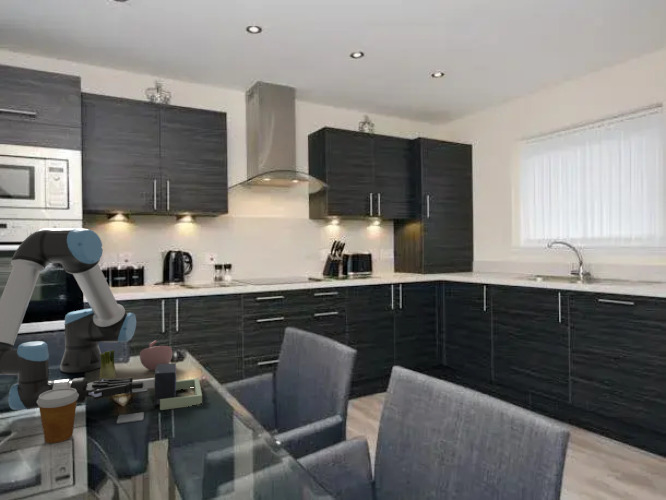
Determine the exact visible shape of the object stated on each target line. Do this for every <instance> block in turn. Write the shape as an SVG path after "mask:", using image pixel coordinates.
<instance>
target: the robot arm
mask: <svg viewBox="0 0 666 500" xmlns="http://www.w3.org/2000/svg"><path fill="white" fill-rule="evenodd" d="M102 247H103V243H102V240H101V238H100V237H99V235H98V233H96V232H95V231H94V230H91V229H89V228H88V229H87V228H80V227H77V228H50V227H49V228H42V229H39V230H36V231H34V232H32V233H31V234H30V235H29V236H27V237H25V239H24V240H23V241H22V242H21V243H20V245H19V246H18V247H17V248H16V250H15V251H14V254H13V256H12V258H11V261H10V265H11V267H12V269H11V272H10V274H9V277H8V279H7V282H6V284H5V286H4V290H3V292H2V294H1V297H0V375H4V376H5V375H6V376H7V375H9V376H17V378H18V380H17V381H18V382H17V383H15V384H13V385H11V387H10V389H9V392H8V407H10V409H11V410H14V411H17V410H32V409H39V406H38V404H37V400H38V398H39V395H40V394H42V393H44V392H46V391H49V390H53V389H58V388H74V389H76V390H77V393H78V394H79V397H78V399H77V403H76V405H77V404H83V403H86V401H87V398H93V400H100V399H103V398H107V397H113V396H119V395H126V394H125V393H129V391H130V394H133V393H132V390H137V389H146V388H147V389H155V377H150V378H140V379H133V377H121V378H120V377H119V378H115V379H104V378H101V379H100V378H99V380H94V381H92V382H88V379H87V378H86V377H77V378H76V377H75V378H73V379H71V378H63V379H55V380H50V379H49V377H50V376H49V375H50V374H49V371H50V370H49V368H50V367H49V365H50V364H49V363H50V362H49V360H50V359H49V358H50V354H49V349H48V344H47V342H45V341H41V340H40V341H39V340H35V341H28V342H22V343H20V344H19V345H18V346H17V348H14V344H15V342H16V340H17V336H18V334H19V331H20V328H21V326H22V323H23V320H24V317H25V315H26V311H27V309H28V306H29V303H30V302H31V298H32V295H33V294H34V290H35V287H36V284H37V281H38V279H39V276H40V274H42V273H43V272H45V269H46V267H47V265H48V264H50V263H51V264H52V263H54V264H55V263H56V264H57V263H58V264H61V266H62V268H63V269H64V271H65V272H66V273H68V274H71V275H72V276H73V277H74V279H75V281H76V282H77V285H78V287H79V289H80V290H81V291H82V294H83V295H84V298H85V300H86V301H87V303H88V304H89V305H88V306H89V307H90V308H84V309H80V310H79V309H78V310H76V311H75V310H73V311H70V312H67V314H65V317H64V323H63V324H64V344H65V345H64V346H65V348H64V353H63V356H62V359H61V361H60V366H59V367H60V371H61V372H63V373H67V374H68V373H69V374H71V373H72V374H75V373H76V374H77V373H83V372H90V371H94V370H98V369H101V356H100V354H102V352H101V349H100V347H99V343H116V344H117V343H119V344H120V343H127V342H129V341H131V339H132V338H133V337H134V335H135V332H136V328H137V315H136V314H135V313H134V312H127V311H126V309H125V307H124V306H123V305H122V304H120V303H118V301H116V298H115V297H114V294H113V291H112V290H111V287H110V285H109V283H108V282H107V279H106V277H105V275H104V273H103V271H102V269H101V267H100V265H99V263H100V261H101V259H102V256H103V250H104V249H103V248H102Z"/></svg>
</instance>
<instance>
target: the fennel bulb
mask: <svg viewBox="0 0 666 500" xmlns="http://www.w3.org/2000/svg"><path fill="white" fill-rule="evenodd" d="M100 356H101V367H100V368H99V369H100V370H99V379H101V378H104V379H116V365H115V350H107V351H104V352H103V353H102V352H101V354H100Z"/></svg>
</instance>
